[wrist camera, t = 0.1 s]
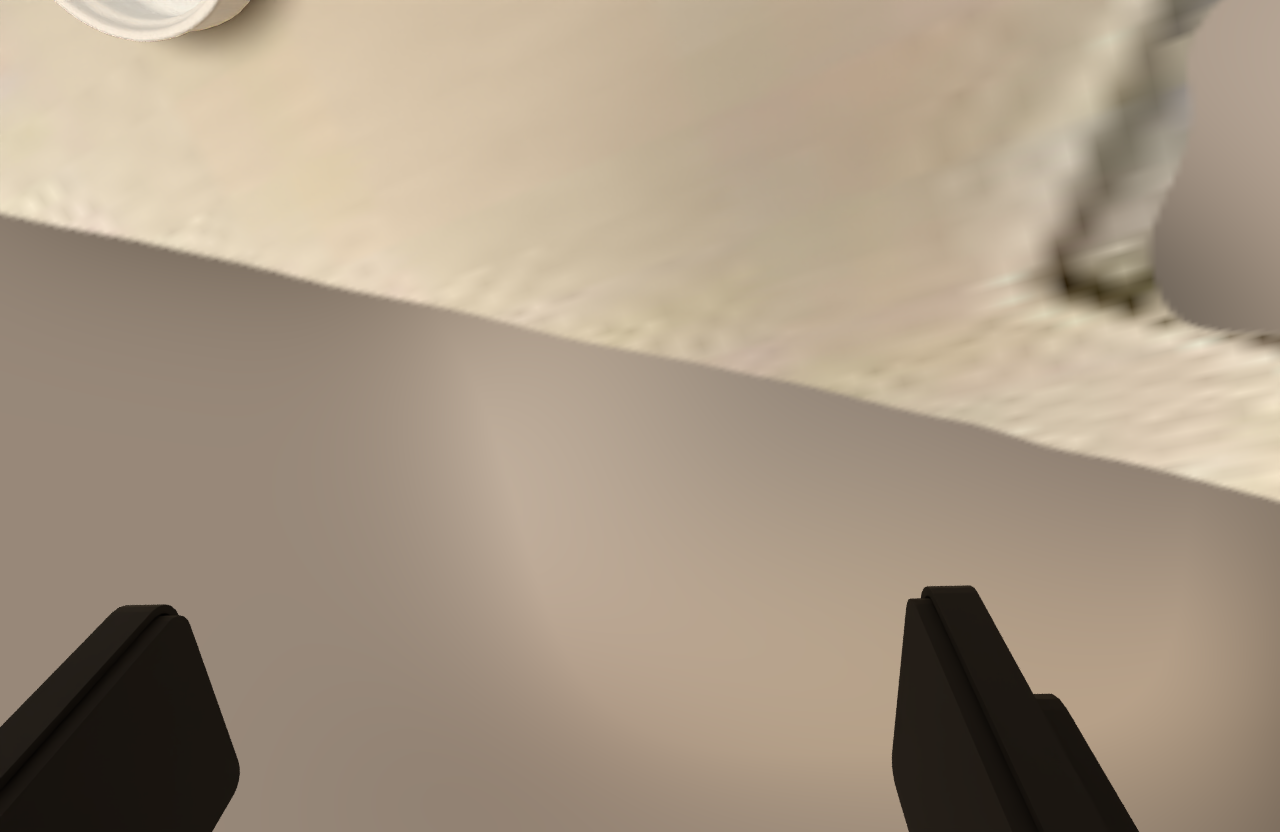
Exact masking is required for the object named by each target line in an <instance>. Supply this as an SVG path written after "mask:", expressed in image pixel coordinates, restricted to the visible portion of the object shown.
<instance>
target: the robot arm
mask: <svg viewBox="0 0 1280 832" xmlns="http://www.w3.org/2000/svg"><path fill="white" fill-rule="evenodd" d="M892 769H893V776H894V782H895V786H896V790H897V793H898V796H899V800H900V803H901V807H902V810H903V813H904V817H905V820H906V823H907V827H908V830H909V832H1139V831H1138V829H1137V827H1136V826H1135V824H1134V822H1133V821H1132V819H1131V818H1130V816H1129V814H1128V812H1127V810H1126V809H1125V807H1124V805H1123V804H1122V802H1121V800H1120V799H1119V797H1118V795H1117V793H1116V792H1115V790H1114V788H1113V787H1112V785H1111V783H1110V782H1109V780H1108V778H1107V776H1106V775H1105V773H1104V771H1103V770H1102V768H1101V766H1100V764H1099V763H1098V761H1097V760H1096V758H1095V756H1094V754H1093V753H1092V751H1091V749H1090V748H1089V746H1088V744H1087V742H1086V741H1085V739H1084V737H1083V736H1082V734H1081V732H1080V730H1079V729H1078V727H1077V725H1076V724H1075V722H1074V720H1073V718H1072V717H1071V715H1070V714H1069V712H1068V710H1067V709H1066V707H1065V706H1064V704H1063V703H1062V702H1061V701H1060V699H1059V698H1057V697H1056V696H1054V695H1053V694H1033V693H1032V691H1031V689H1030V687H1029V685H1028V684H1027V682H1026V680H1025V678H1024V676H1023V675H1022V673H1021V671H1020V669H1019V667H1018V665H1017V664H1016V662H1015V660H1014V658H1013V657H1012V654H1011V653H1010V651H1009V649H1008V647H1007V645H1006V644H1005V642H1004V640H1003V638H1002V636H1001V635H1000V633H999V631H998V629H997V628H996V625H995V624H994V622H993V620H992V618H991V616H990V614H989V613H988V611H987V609H986V607H985V605H984V604H983V602H982V600H981V598H980V597H979V594H978V593H977V591H976V590H975V588H973V587H972V586H929V587H928V586H927V587H925V588H924V589H923V591H922V594H921V598H917V599H909V600H908V602H907V607H906V615H905V626H904V636H903V646H902V657H901V667H900V677H899V688H898V698H897V708H896V719H895V730H894V740H893V750H892ZM239 775H240V767H239V762H238V759H237V756H236V753H235V750H234V748H233V745H232V742H231V739H230V736H229V733H228V730H227V728H226V725H225V722H224V719H223V716H222V714H221V711H220V708H219V705H218V702H217V699H216V697H215V694H214V691H213V688H212V685H211V682H210V680H209V677H208V674H207V671H206V668H205V666H204V663H203V660H202V657H201V654H200V651H199V648H198V646H197V643H196V640H195V637H194V635H193V632H192V629H191V626H190V624H189V622H188V620H187V619H186V618H185V617H184V616H179V615H178V613H177V611H176V610H175V609H174V608H173V607H172V606H169V605H126V606H122V607H119V608H118V609H116V610H115V611H114V612H112V613H111V614H110V615H109V616H108V617H107V618H106V619H105V620H104V622H103V623H102V624H101V625H100V626H99V627H98V628H97V629H96V630H95V631H94V632H93V633H92V634H91V635H90V636H89V637H88V638H87V639H86V640H85V641H84V642H83V643H82V644H81V645H80V646H79V647H78V648H77V649H76V650H75V651H74V652H73V653H72V654H71V655H70V656H69V657H68V658H67V659H66V661H65V662H64V663H62V664H61V666H60V667H59V668H58V669H57V670H56V671H55V672H54V673H53V674H52V675H51V676H50V677H49V678H48V679H47V680H46V681H45V682H44V683H43V684H42V685H41V686H40V687H39V688H38V689H37V690H36V691H35V692H34V693H33V694H32V695H31V696H30V697H29V698H28V699H27V700H26V701H25V702H24V703H23V704H22V705H21V707H20V708H19V709H18V710H17V711H16V712H15V713H14V714H13V715H12V716H11V717H10V718H9V719H8V720H7V721H6V722H5V723H4V724H3V725H2V726H1V727H0V832H212V831H213V829H214V828H215V826H216V824H217V822H218V821H219V819H220V817H221V815H222V814H223V812H224V810H225V809H226V807H227V805H228V803H229V802H230V800H231V798H232V796H233V795H234V793H235V791H236V788H237V785H238V782H239Z"/></svg>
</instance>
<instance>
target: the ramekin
mask: <svg viewBox="0 0 1280 832" xmlns="http://www.w3.org/2000/svg"><path fill="white" fill-rule="evenodd" d="M54 1H55V2H56V3H57V4H59V5H60V6H61V7H62V8H63V9H65V10H66V11H67V12H68V13H70V14H71V15H72V16H74V17H75V18H77V19H78V20H80V21H81V22H83V23H85V24H86V25H88V26H90V27H92V28H94V29H96V30H98V31H100V32H103V33H105V34H107V35H110V36H114V37H117V38H121V39H126V40H131V41H139V42H152V41H163V40H167V39H172V38H175V37H178V36H181V35H184V34H186V33H188V32H191V31H199V30H204V29H208V28H211V27H213V26H218V25H220V24H222V23H224V22H226V21H228V20H230V19H232V18H233V17H234V16H235V15H237V14H238V13H240V12H241V11H242V9H243V8H244V7H245V6H246V5H247V4H248V3H249V1H250V0H54Z"/></svg>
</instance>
